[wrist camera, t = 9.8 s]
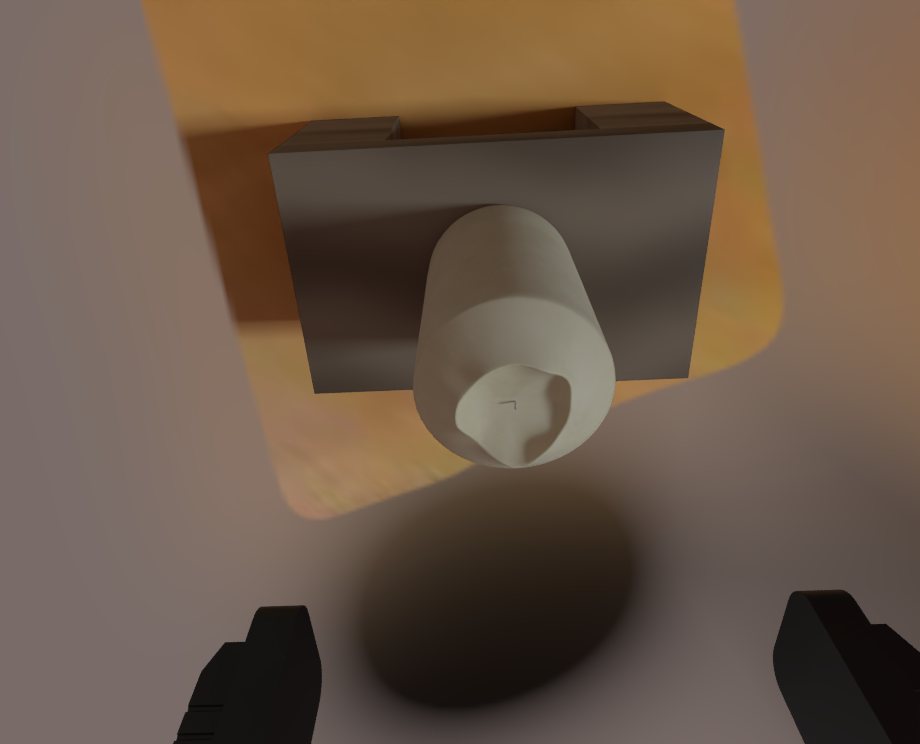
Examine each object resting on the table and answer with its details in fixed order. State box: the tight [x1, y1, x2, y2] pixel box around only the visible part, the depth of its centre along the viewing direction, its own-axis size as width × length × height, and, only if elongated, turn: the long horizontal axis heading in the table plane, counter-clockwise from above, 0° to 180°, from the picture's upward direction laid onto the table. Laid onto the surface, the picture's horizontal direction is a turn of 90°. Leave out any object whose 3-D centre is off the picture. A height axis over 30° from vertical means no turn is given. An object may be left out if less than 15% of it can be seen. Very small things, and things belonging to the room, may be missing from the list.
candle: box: [413, 205, 616, 468], centre depth 20 cm, size 6×6×10 cm
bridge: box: [268, 102, 725, 394], centre depth 28 cm, size 10×16×8 cm, turn 93°
